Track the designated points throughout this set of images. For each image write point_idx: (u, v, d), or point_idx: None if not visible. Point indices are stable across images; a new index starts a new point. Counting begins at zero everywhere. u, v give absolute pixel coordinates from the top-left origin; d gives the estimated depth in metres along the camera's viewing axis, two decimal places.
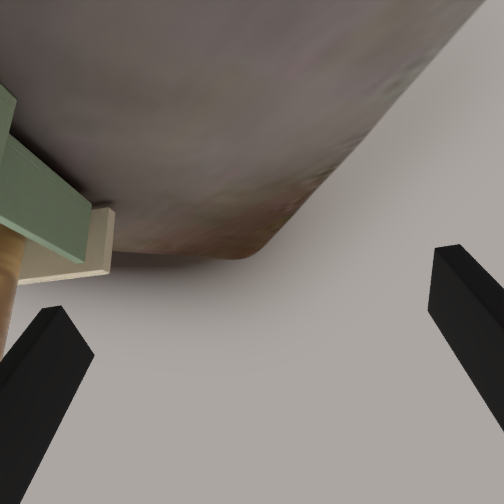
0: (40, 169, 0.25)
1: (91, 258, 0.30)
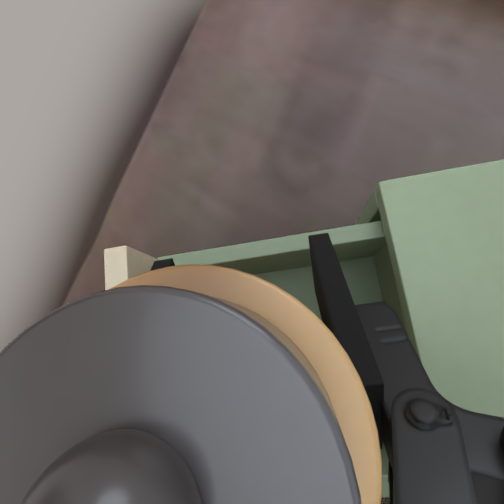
0: None
1: None
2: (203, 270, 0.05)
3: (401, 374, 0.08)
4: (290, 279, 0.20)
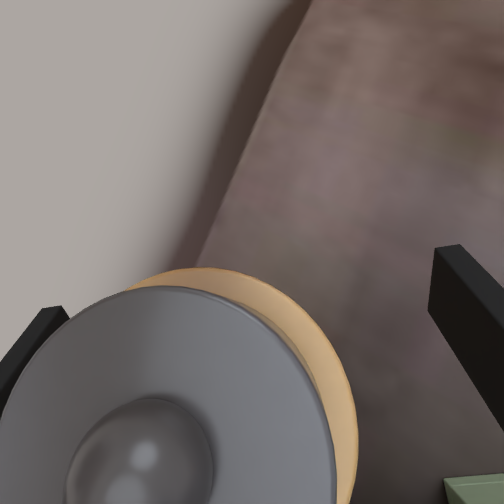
0: None
1: None
2: (208, 272, 0.06)
3: None
4: None
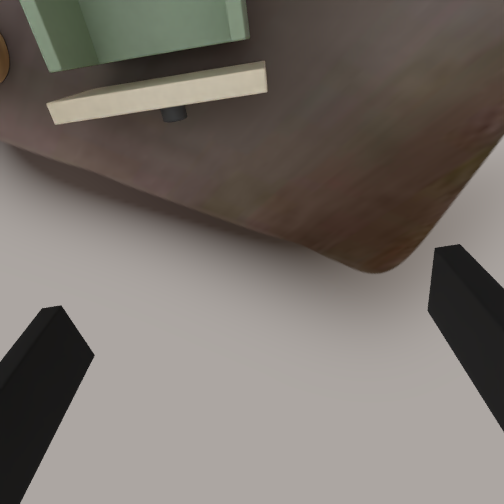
0: None
1: (243, 69, 0.19)
2: None
3: None
4: None
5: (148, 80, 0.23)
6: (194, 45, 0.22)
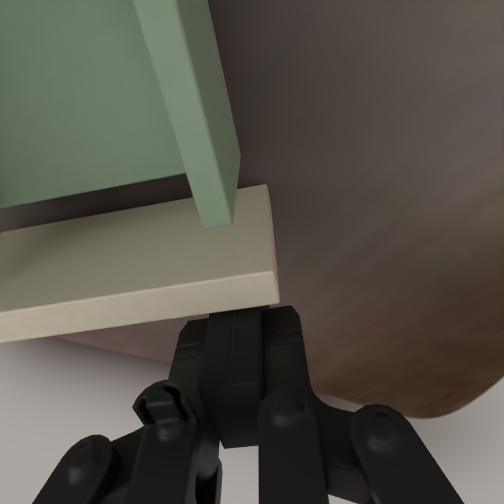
0: None
1: (231, 252, 0.10)
2: None
3: (285, 374, 0.08)
4: None
5: (80, 227, 0.14)
6: (148, 177, 0.13)
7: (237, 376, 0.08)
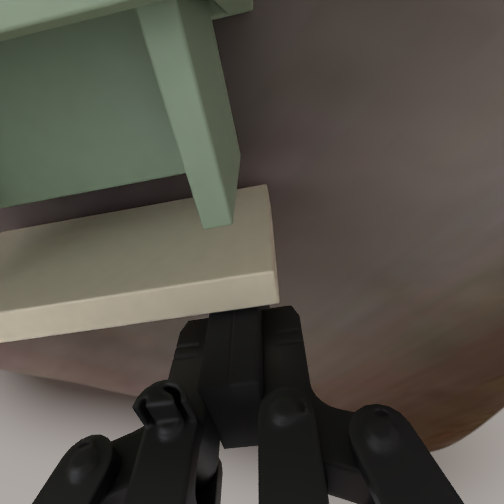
0: None
1: (231, 252, 0.10)
2: None
3: (285, 374, 0.08)
4: None
5: (80, 227, 0.14)
6: (148, 177, 0.13)
7: (237, 376, 0.08)
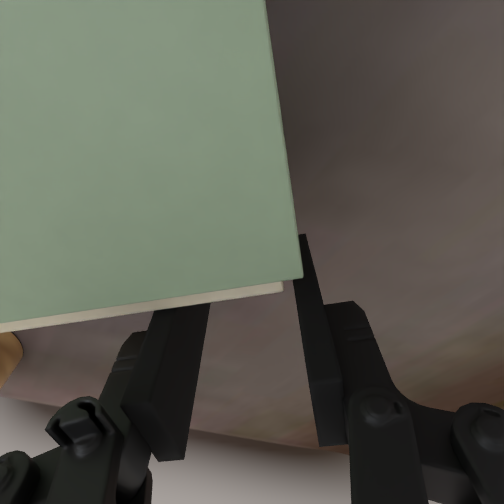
0: None
1: None
2: None
3: (363, 371, 0.08)
4: None
5: None
6: None
7: (317, 373, 0.08)
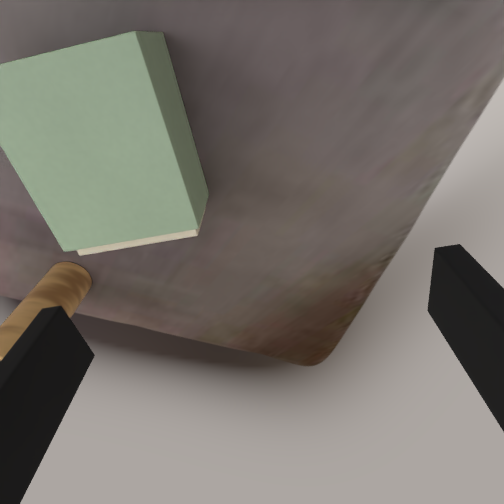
0: None
1: None
2: None
3: None
4: None
5: None
6: None
7: None
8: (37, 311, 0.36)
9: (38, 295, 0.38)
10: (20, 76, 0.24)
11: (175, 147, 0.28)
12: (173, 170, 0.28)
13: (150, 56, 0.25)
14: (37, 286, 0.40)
